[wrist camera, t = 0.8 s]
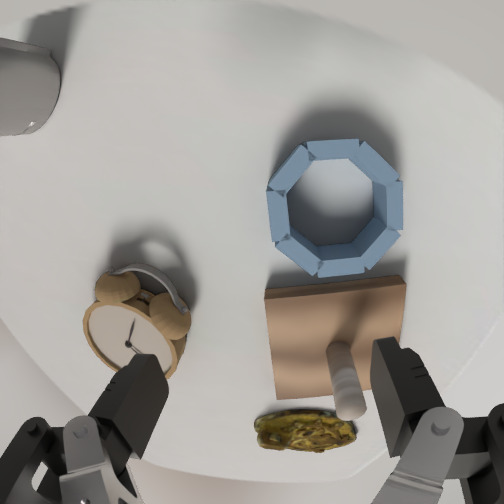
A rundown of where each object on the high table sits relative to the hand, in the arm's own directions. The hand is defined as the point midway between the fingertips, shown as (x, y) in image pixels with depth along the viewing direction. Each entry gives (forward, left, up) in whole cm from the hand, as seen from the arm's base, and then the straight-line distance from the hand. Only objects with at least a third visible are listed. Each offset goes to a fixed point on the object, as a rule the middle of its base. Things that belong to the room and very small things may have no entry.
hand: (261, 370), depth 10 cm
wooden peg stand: (+12, +5, -17) cm, 21 cm away
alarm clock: (+8, -15, -17) cm, 24 cm away
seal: (+28, +2, -18) cm, 33 cm away
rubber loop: (-2, +5, -17) cm, 18 cm away
